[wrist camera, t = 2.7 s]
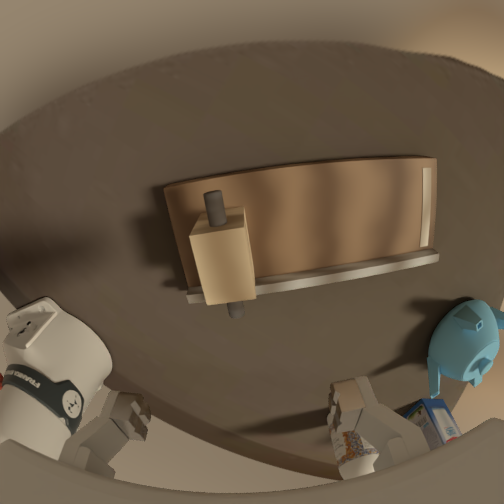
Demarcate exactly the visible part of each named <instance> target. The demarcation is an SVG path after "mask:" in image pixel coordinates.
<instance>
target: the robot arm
mask: <svg viewBox="0 0 504 504" xmlns="http://www.w3.org/2000/svg"><path fill="white" fill-rule="evenodd" d="M6 320H7V324H8V328H9V330H10V333H9V334H8V335H7V337H6V338H5V340H4V341H3V350H4V354H5V357H6V361H7V365H8V367H7V370H6V372H5V374H4V378H3V376H2V375H1V373H0V390H1V391H0V504H504V420H501V419H497V418H490V419H488V420H486V421H485V422H483V423H482V424H480V425H478V426H477V427H475V428H473V429H472V430H470V431H469V432H467V433H465V434H463V435H461V436H459V437H457V438H456V439H454V440H452V441H450V442H448V443H446V444H444V445H442V446H440V447H437V448H435V449H433V450H431V451H430V448H429V446H428V444H427V442H426V439H425V437H424V435H423V432H422V430H421V428H420V427H418V426H417V425H415V424H413V423H412V422H410V421H408V420H407V419H405V418H404V417H402V416H400V415H399V414H397V413H396V412H394V411H393V410H391V409H389V408H388V407H386V406H385V405H383V404H382V403H381V404H378V402H377V399H376V397H375V395H374V392H373V390H372V388H371V385H370V383H369V381H368V378H367V377H366V376H361V377H357V378H351V379H347V380H342V381H337V382H332V383H331V385H330V390H331V393H329V398H328V402H329V409H330V413H331V414H332V415H333V416H334V418H333V425H334V428H335V432H336V433H342V432H347V431H351V430H355V431H356V432H357V433H358V434H359V435H360V436H361V437H362V438H364V439H365V440H366V441H367V442H368V443H369V444H371V445H372V446H373V447H374V448H375V449H376V450H378V451H379V452H380V455H379V456H378V457H377V459H376V460H375V462H374V463H373V467H374V471H375V472H372V473H369V474H366V475H362V476H358V477H355V478H351V479H347V480H342V481H338V482H334V483H329V484H324V485H318V486H313V487H306V488H300V489H292V490H283V491H273V492H259V493H205V492H191V491H180V490H171V489H164V488H157V487H151V486H145V485H140V484H135V483H130V482H126V481H121V480H117V479H114V475H115V471H114V469H113V468H111V467H110V466H109V465H108V464H107V463H108V462H109V461H110V460H111V459H112V458H113V457H114V456H115V455H116V454H117V453H118V452H119V451H120V450H121V449H122V447H123V446H124V445H125V444H126V443H127V442H128V441H129V439H131V440H140V441H145V440H146V435H147V431H148V429H147V427H146V425H147V424H148V423H149V422H150V419H151V410H150V407H149V405H148V404H147V403H146V402H144V401H143V400H144V397H143V396H142V394H139V393H129V392H121V391H112V390H111V391H110V392H109V394H108V396H107V399H106V401H105V404H104V406H103V408H102V411H101V414H100V416H99V417H95V418H94V419H93V420H92V421H90V422H89V423H88V424H86V425H85V426H84V427H83V428H81V429H80V430H79V431H77V430H78V427H79V424H80V422H81V419H82V414H83V413H84V411H85V410H86V408H87V406H88V404H89V403H90V401H91V400H92V398H93V396H94V395H95V393H96V391H99V390H100V389H101V388H102V386H103V381H104V380H105V378H106V377H107V376H108V375H109V374H110V372H111V370H112V360H111V356H110V354H109V352H108V350H107V348H106V346H105V345H104V343H103V342H102V341H101V339H100V338H99V337H98V336H97V335H96V334H95V333H94V332H93V331H92V330H91V329H90V328H89V327H88V326H87V325H85V324H84V323H83V322H81V321H80V320H78V319H77V318H75V317H73V316H72V315H70V314H68V313H66V312H65V311H63V310H62V309H61V308H60V307H59V306H58V305H57V304H56V303H55V302H54V301H53V300H51V299H50V298H48V297H44V298H42V299H40V300H37V301H35V302H33V303H31V304H28V305H26V306H24V307H22V308H20V309H18V310H15V311H13V312H12V313H9V314H8V316H7V317H6Z"/></svg>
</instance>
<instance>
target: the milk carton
mask: <svg viewBox="0 0 504 504" xmlns="http://www.w3.org/2000/svg"><path fill="white" fill-rule="evenodd" d="M403 417H404V418H405V419H407V420H408V421H410V422H412V423H413V424H415V425H417V426H418V427H420V428H421V430H422V432H423V435H424V437H425V439H426V442H427V444H428V446H429V448H430V451H431V450H433V449H435V448H437V447H440V446H442V445H444V444H446V443H448V442H450V441H452V440H454V439H456V438H457V437H459V436H461V435H462V433H461V431H460V430H459V428H458V426H457V424H456V422H455V420H454V418H453V416H452V415H451V413H450V411H449V409H448V407H447V406H446V404H445V402H444V400H443V399H421V400H420V401H419V402H418V403H417V404H416V405H414V406H413V407H412V408H411V409H410V410H409V411H408V412H407V413H406V414H404V415H403Z"/></svg>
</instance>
